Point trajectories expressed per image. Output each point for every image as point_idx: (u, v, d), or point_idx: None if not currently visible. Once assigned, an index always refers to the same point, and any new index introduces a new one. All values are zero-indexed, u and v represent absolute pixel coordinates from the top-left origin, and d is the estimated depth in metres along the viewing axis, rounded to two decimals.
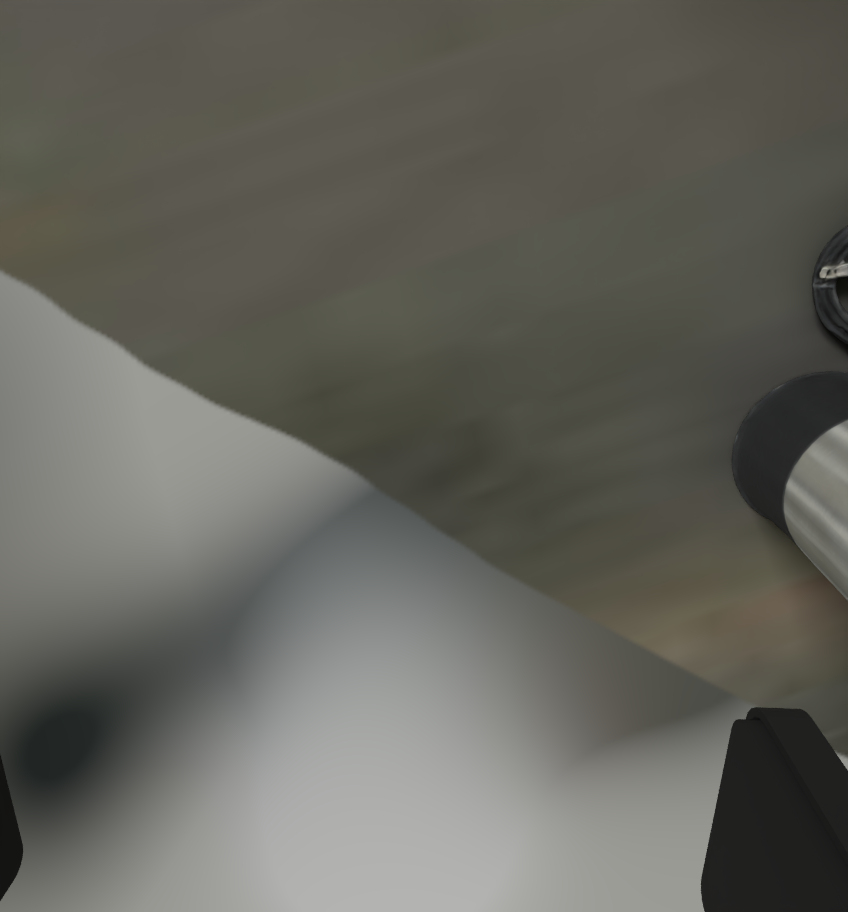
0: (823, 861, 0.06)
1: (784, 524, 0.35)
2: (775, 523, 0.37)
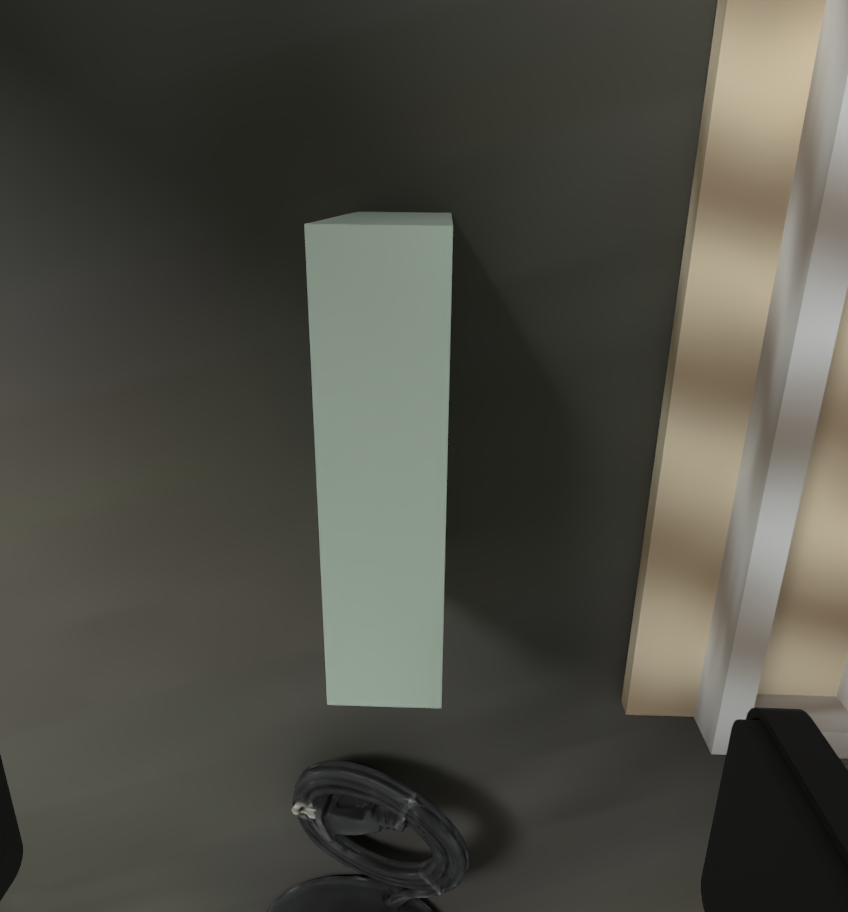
0: (823, 861, 0.06)
1: None
2: None
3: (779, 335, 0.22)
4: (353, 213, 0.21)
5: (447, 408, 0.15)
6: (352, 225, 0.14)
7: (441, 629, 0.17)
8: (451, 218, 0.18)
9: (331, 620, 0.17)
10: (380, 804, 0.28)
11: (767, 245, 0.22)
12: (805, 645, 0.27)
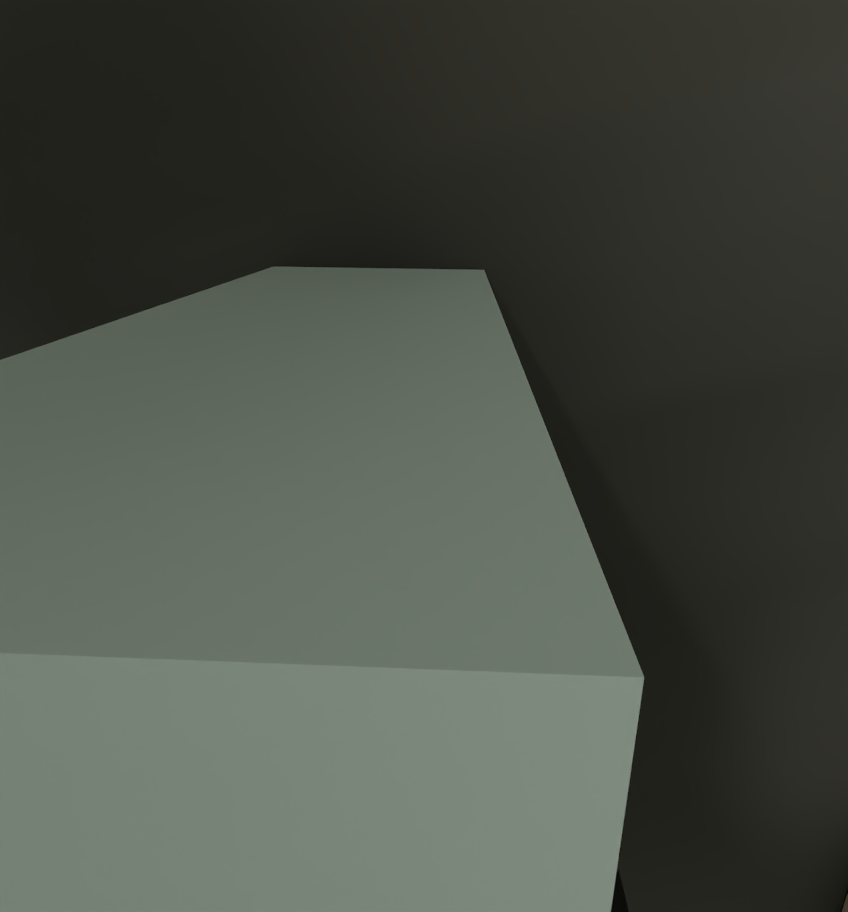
0: None
1: None
2: None
3: None
4: (239, 281, 0.08)
5: None
6: None
7: None
8: (505, 330, 0.05)
9: None
10: None
11: None
12: None
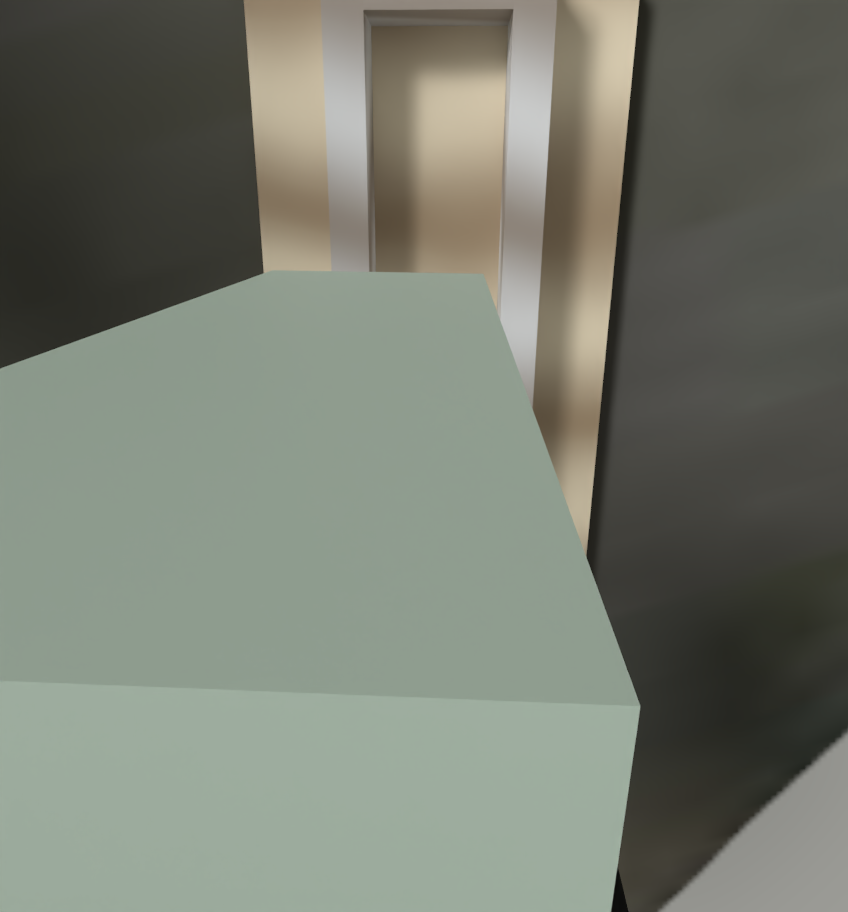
0: None
1: None
2: None
3: None
4: (238, 285, 0.08)
5: None
6: None
7: None
8: (504, 338, 0.05)
9: None
10: None
11: (328, 249, 0.24)
12: None
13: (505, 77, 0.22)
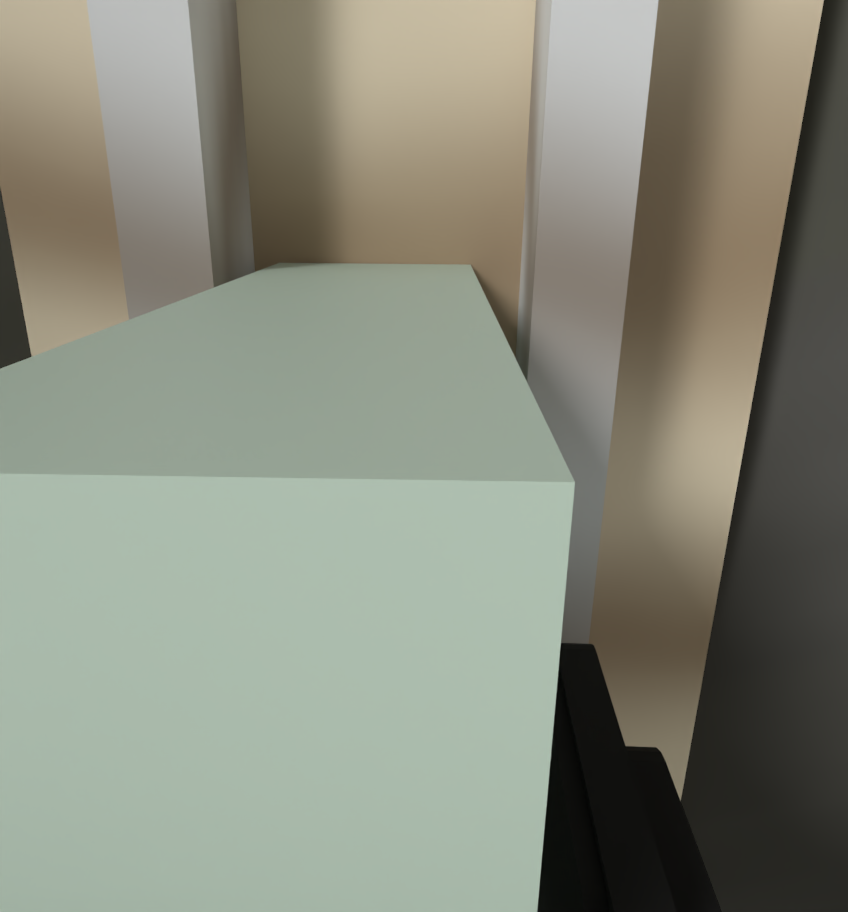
0: (560, 756, 0.07)
1: None
2: None
3: None
4: (254, 275, 0.09)
5: None
6: (4, 479, 0.02)
7: None
8: (491, 312, 0.06)
9: None
10: None
11: None
12: None
13: None
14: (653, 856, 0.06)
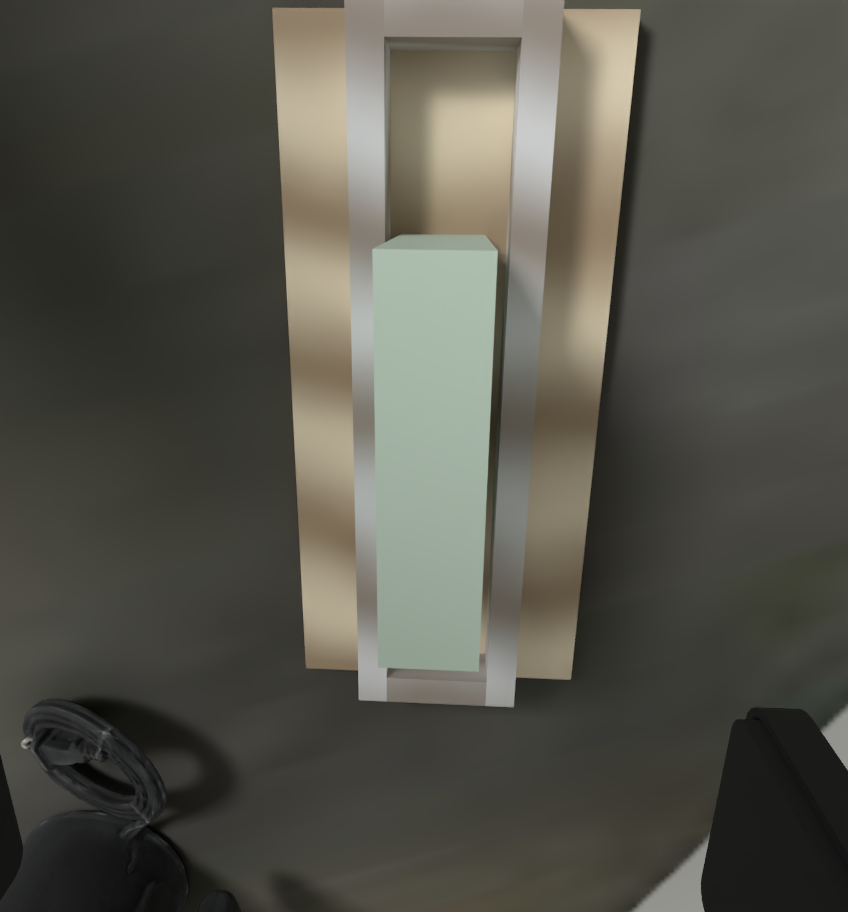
0: (823, 861, 0.06)
1: None
2: None
3: None
4: (400, 236, 0.23)
5: (489, 405, 0.18)
6: (412, 250, 0.17)
7: (480, 600, 0.20)
8: (490, 242, 0.20)
9: (384, 591, 0.20)
10: (82, 736, 0.32)
11: (346, 255, 0.26)
12: None
13: (513, 98, 0.23)
14: None
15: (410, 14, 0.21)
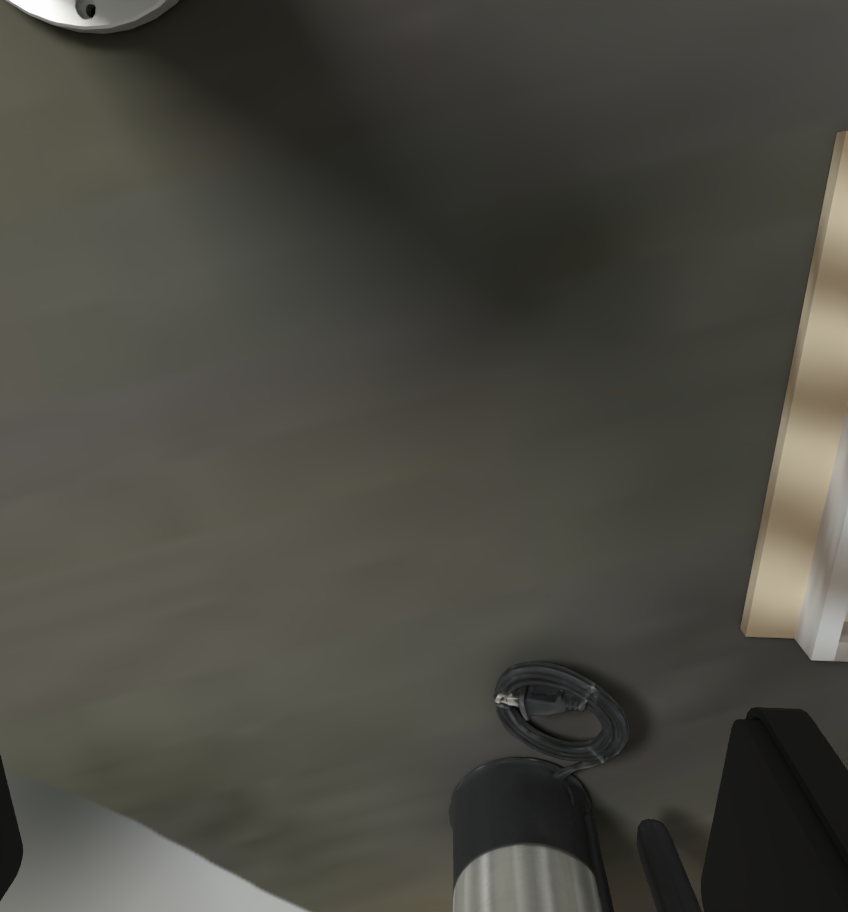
0: (823, 861, 0.06)
1: None
2: None
3: None
4: None
5: None
6: None
7: None
8: None
9: None
10: (568, 691, 0.39)
11: None
12: None
13: None
14: None
15: None
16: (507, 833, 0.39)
